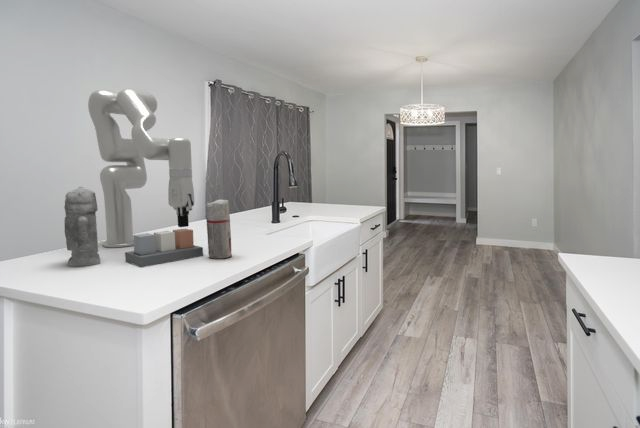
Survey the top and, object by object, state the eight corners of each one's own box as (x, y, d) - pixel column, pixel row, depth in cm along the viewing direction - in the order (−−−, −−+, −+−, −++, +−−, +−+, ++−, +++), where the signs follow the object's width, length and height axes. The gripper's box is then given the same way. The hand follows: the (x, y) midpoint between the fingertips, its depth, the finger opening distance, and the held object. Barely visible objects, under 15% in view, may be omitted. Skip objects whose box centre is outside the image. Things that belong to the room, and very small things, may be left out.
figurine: (100, 256, 147) (95, 185, 144) (101, 265, 135) (96, 187, 132) (67, 260, 142) (62, 186, 140) (66, 269, 130) (60, 188, 127)
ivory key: (154, 249, 144) (153, 232, 144) (168, 247, 148) (167, 230, 147) (161, 251, 141) (160, 234, 140) (175, 249, 145) (174, 232, 144)
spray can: (226, 260, 142) (224, 201, 140) (203, 258, 144) (201, 200, 142) (236, 254, 150) (234, 198, 148) (214, 253, 152) (212, 198, 150)
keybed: (125, 261, 141) (124, 252, 140) (185, 250, 157) (184, 243, 157) (142, 266, 133) (141, 257, 132) (203, 255, 149) (202, 247, 149)
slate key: (134, 253, 139) (133, 235, 138) (148, 250, 143) (147, 233, 142) (141, 255, 136) (140, 236, 135) (155, 252, 139) (155, 234, 139)
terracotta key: (173, 246, 149) (172, 230, 149) (186, 244, 153) (185, 228, 152) (180, 248, 146) (180, 231, 145) (193, 246, 150) (193, 229, 149)
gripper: (160, 174, 149) (162, 226, 151) (182, 174, 139) (184, 229, 141) (179, 174, 154) (181, 223, 156) (202, 174, 144) (204, 227, 146)
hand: (183, 226), depth 149 cm, fingers closed
